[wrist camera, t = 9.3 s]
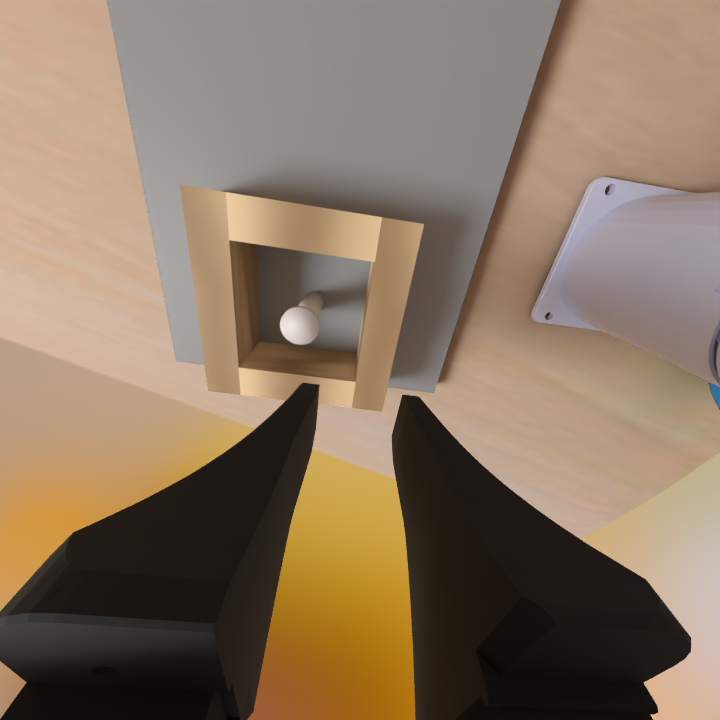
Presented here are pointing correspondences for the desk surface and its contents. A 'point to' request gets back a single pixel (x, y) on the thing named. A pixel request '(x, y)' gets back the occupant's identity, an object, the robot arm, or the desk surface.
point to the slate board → (331, 144)
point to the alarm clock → (715, 393)
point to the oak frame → (241, 306)
